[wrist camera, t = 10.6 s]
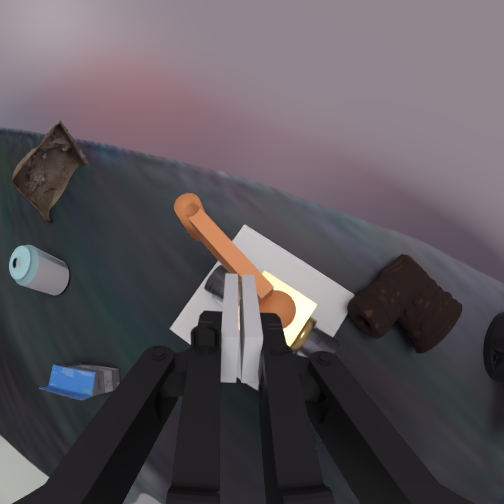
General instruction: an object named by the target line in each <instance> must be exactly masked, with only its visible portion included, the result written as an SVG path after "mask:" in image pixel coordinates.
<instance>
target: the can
mask: <svg viewBox="0 0 504 504" xmlns="http://www.w3.org/2000/svg"><path fill="white" fill-rule="evenodd" d="M9 269H10V274H11V276H12V277H13V278H14V279H15V280H16V282H17V283H18V284H19V285H22V286H25V287H28V288H31V289H34V290H38V291H41V292H44V293H47V294H51V295H58V294H60V293H62V292H63V291H64V289H65V288H66V286H67V284H68V280H69V270H68V267H67V265H66V264H65V262H63V261H62V260H60V259H57V258H55V257H53V256H51V255H49V254H47V253H45V252H43V251H41V250H40V249H38V248H36V247H34V246H32V245H26V246H19V247H18V248H17V249H16V250H15V251H14V252H13V254H12V256H11V259H10V264H9Z"/></svg>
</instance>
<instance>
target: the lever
mask: <svg viewBox="0 0 504 504" xmlns="http://www.w3.org/2000/svg"><path fill="white" fill-rule="evenodd" d="M174 210H175V212H176V214H177V215H178V217H179V219H180V220H181V222H182V224H183V225H184V227H185V228H186V230H187V232H188V233H189V235H190V236H191V237H192V238H193V239H195V240H201V241H202V243H203V244H204V245H205V246H206V247H207V248H208V249H209V250H210V252H211V253H212V254H213V255H214V256H215V257H216V258H217V259H218V261H219V262H220V263H221V264H222V265H223V266H224V267H225V268H226V269H227V271H228V272H229V273H230V274H238V283H239V284H240V285H241V279H242V274H248V275H254V277H255V284H256V291H257V298H258V305H259V312H261V313H276V314H277V315H278V316H279V317H280V318H281V322H282V326H283V329H284V328H286V327H288V326H289V325H290V324H291V323H292V322H293V320H294V318H295V315H296V305H295V302H294V300H293V299H292V297H291V296H290V295H289V294H287V293H286V292H284V291H280V290H274V286H273V285H272V284H271V283H270V282H269V281H268V280H267V279H266V278H265V277H264V276H263V274H262V273H261V272H260V271H259V270H258V269H257V268H256V267H255V266H254V265H253V264H252V263H251V262H250V261H249V260H248V258H247V257H246V256H245V255H244V254H243V253H242V252H241V251H240V250H239V249H238V248H237V247H236V246H235V245H234V244H233V242H232V241H231V240H230V239H229V238H228V237H227V236H226V235H225V234H224V233H223V232H222V231H221V230H220V229H219V227H218V226H217V225H216V224H215V223H214V222H213V221H212V220H211V219H210V218H209V217H208V216H207V215H206V213H205V212H204V209H203V207H202V204H201V202H200V199H199V198H198V196H196V195H195V194H192V193H186V194H183V195H181V196H180V197H178V199H177V200H176V202H175V204H174Z"/></svg>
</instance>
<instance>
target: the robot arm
mask: <svg viewBox="0 0 504 504" xmlns="http://www.w3.org/2000/svg"><path fill="white" fill-rule="evenodd" d="M239 323H240V358H241V383H258V380H259V385H258V393H257V400H256V401H259V415H260V428H261V442H262V455H263V468H264V482H265V495H266V504H335V501H334V496H333V493H332V491H331V489H330V488H329V487H327V486H325V485H324V482H323V479H322V474H321V470H320V465H319V461H318V456H317V452H316V447H315V443H314V439H313V434H312V430H311V426H310V421H309V418H310V420H311V422H312V424H313V425H314V427H315V429H316V431H317V432H318V434H319V436H320V438H321V439H322V441H323V443H324V444H325V446H326V448H327V450H328V451H329V453H330V455H331V456H332V458H333V460H334V461H335V463H336V465H337V466H338V468H339V470H340V471H341V473H342V475H343V476H344V478H345V480H346V481H347V483H348V485H349V486H350V488H351V490H352V491H353V493H354V494H355V496H356V498H357V499H358V501H359V503H360V504H474V503H472V502H471V501H469V500H467V499H465V498H463V497H462V496H460V495H458V494H456V493H455V492H453V491H451V490H449V489H448V488H446V487H444V486H443V485H441V484H439V482H438V481H437V480H436V479H435V477H434V476H433V475H432V474H431V472H430V471H429V470H428V469H427V468H426V466H425V465H424V464H423V463H422V461H421V460H420V459H419V458H418V456H417V455H416V454H415V453H414V451H413V450H412V449H411V448H410V446H409V445H408V444H407V443H406V442H405V440H404V439H403V438H402V437H401V435H400V434H399V433H398V432H397V430H396V429H395V428H394V427H393V425H392V424H391V423H390V422H389V420H388V419H387V418H386V417H385V416H384V414H383V413H382V412H381V411H380V409H379V408H378V407H377V406H376V404H375V403H374V402H373V401H372V399H371V398H370V397H369V396H368V394H367V393H366V392H365V391H364V389H363V388H362V387H361V386H360V385H359V383H358V382H357V381H356V380H355V378H354V377H353V376H352V375H351V373H350V372H349V371H348V370H347V368H346V367H345V366H344V365H343V363H342V362H341V361H340V360H339V359H338V357H337V356H335V355H334V354H333V353H330V352H327V351H317V352H314V353H313V354H312V355H311V356H310V358H309V357H304V356H300V355H297V354H295V353H293V350H292V349H291V347H290V346H288V345H287V342H286V338H285V334H284V330H283V326H282V322H281V318H280V317H279V316H278V315H277V314H276V313H261V312H259V305H258V298H257V291H256V284H255V277H254V275H248V274H242V279H241V294H240V308H239V305H238V274H229V273H226V274H225V287H224V300H223V311H207V310H204V311H203V312H202V313H201V314H200V315H199V320H198V326H196V327H194V328H193V329H192V330H191V332H190V333H191V348H190V349H188V350H186V351H184V352H179V353H173V351H172V350H171V349H170V348H168V347H166V346H160V345H158V346H152V347H150V348H148V349H147V350H146V351H145V352H144V353H143V354H142V356H141V357H140V358H139V359H138V361H137V362H136V363H135V364H134V366H133V367H132V368H131V370H130V371H129V372H128V373H127V375H126V376H125V377H124V379H123V380H122V381H121V383H120V384H119V385H118V386H117V388H116V389H115V390H114V392H113V393H112V394H111V396H110V397H109V398H108V399H107V401H106V402H105V403H104V405H103V406H102V407H101V409H100V410H99V411H98V413H97V414H96V415H95V417H94V418H93V419H92V421H91V422H90V423H89V425H88V426H87V427H86V429H85V430H84V431H83V433H82V434H81V435H80V437H79V438H78V439H77V441H76V442H75V443H74V445H73V446H72V447H71V449H70V450H69V452H68V453H67V454H66V456H65V457H64V458H63V460H62V461H61V462H60V464H59V465H58V467H57V468H56V469H55V471H54V472H53V473H52V475H51V476H50V478H49V479H48V481H47V482H46V483H45V484H44V485H43V486H41V487H40V488H38V489H36V490H35V491H33V492H31V493H30V494H28V495H26V496H25V497H23V498H21V499H19V500H18V501H16V502H14V503H13V504H122V503H123V502H124V500H125V498H126V496H127V494H128V492H129V490H130V488H131V487H132V485H133V483H134V481H135V479H136V477H137V475H138V473H139V472H140V470H141V468H142V466H143V464H144V462H145V460H146V458H147V456H148V455H149V453H150V451H151V449H152V447H153V445H154V443H155V441H156V439H157V438H158V436H159V434H160V432H161V430H162V428H163V426H164V424H165V422H166V421H167V419H168V417H169V415H170V413H171V411H172V409H173V407H174V405H175V404H176V402H177V400H178V396H183V400H182V407H181V414H180V421H179V428H178V436H177V443H176V451H175V459H174V468H173V476H172V484H171V487H170V488H169V489H168V492H167V498H166V504H220V384H221V382H231V383H236V377H237V362H238V348H239ZM484 362H485V367H486V370H487V372H488V374H489V376H490V377H491V378H492V379H494V380H496V381H504V312H503V313H500V314H499V315H497V316H496V317H495V318H494V320H493V321H492V323H491V324H490V326H489V329H488V331H487V335H486V338H485V344H484Z"/></svg>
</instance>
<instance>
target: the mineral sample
mask: <svg viewBox="0 0 504 504" xmlns="http://www.w3.org/2000/svg"><path fill="white" fill-rule="evenodd" d="M87 159H88V158H86V156H85V154H83V153H82V150H81V149H80V148H79V147H78V145H77V144H76V142H75V140H74V139H73V137H72V136H71V135H70V134H69V133H68V130H67V129H66V127H65V126H64V125H63V124H62V123H61V121H60V122H59V123H58V124H57V125H55V126H54V128H53V129H52V130H51V131H50V132H49V133H48V134H46V135H45V137H44V139H43V140H42V142H41V143H40V144H39V146H38V147H36V148H33V149H31V150H30V151H29V153H28V154H27V155H26V156H25V157H24V158H23V159H22V160H21V162H20V163H19V164H18V166H17V167H16V169H15V171H14V173H13V183H14V185H15V186H16V187H17V189H18V190H19V191H20V193H21V194H22V195H24V196H25V197H26V198H28V200H29V201H30V202H31V203H32V204H33V205H34V206H35V208H37V209H38V210H39V211H40V213H41V214H42V216H43V218H44V219H45V220H47V221H51V220H50V218H49V211H50V208H51V207H53V205H54V204H55V203H56V202H57V200H58V199H59V198H60V196H61V195H62V193H63V192H64V190H65V188H66V186H67V184H68V182H69V179H70V177H71V176H72V174H73V173H74V171H75V170H76V169H77V167H78V166H79V165H86V164H87V163H88V162H89V161H88V160H87Z"/></svg>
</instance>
